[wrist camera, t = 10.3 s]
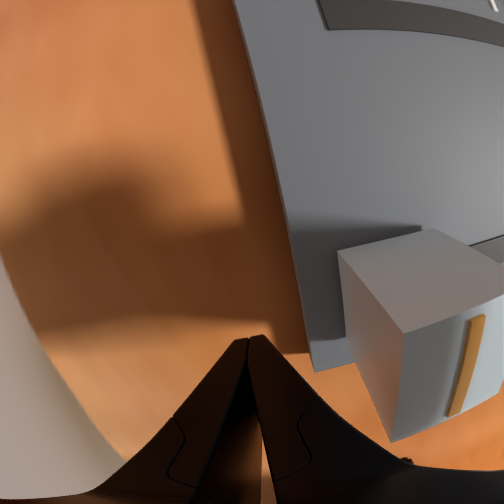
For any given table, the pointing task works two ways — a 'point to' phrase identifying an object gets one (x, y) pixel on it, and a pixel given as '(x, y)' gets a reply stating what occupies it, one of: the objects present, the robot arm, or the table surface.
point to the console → (377, 132)
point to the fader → (423, 327)
